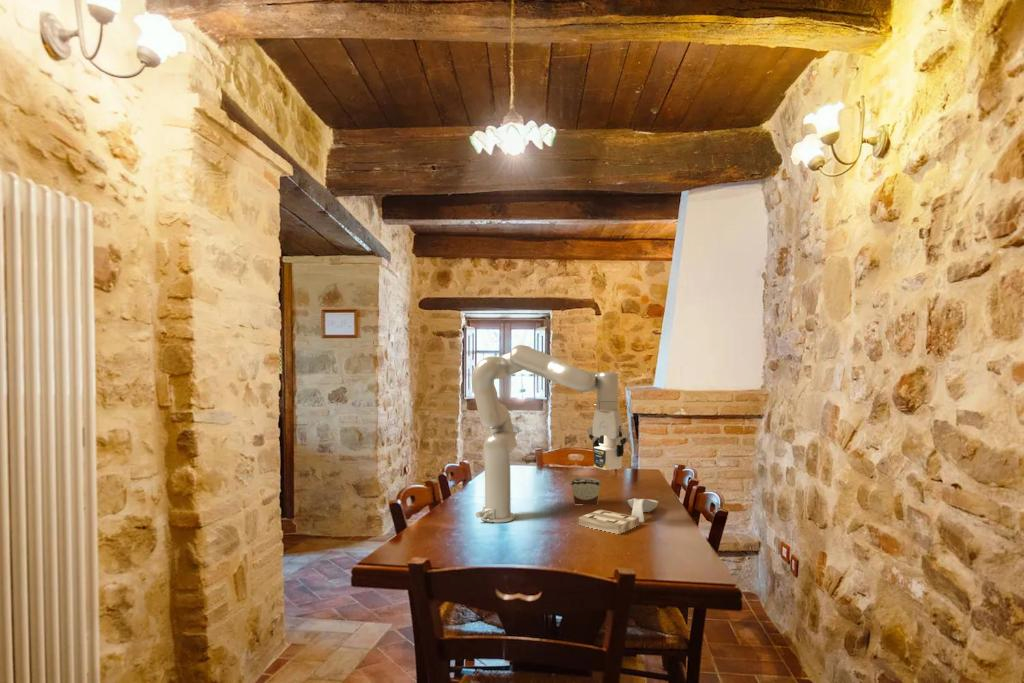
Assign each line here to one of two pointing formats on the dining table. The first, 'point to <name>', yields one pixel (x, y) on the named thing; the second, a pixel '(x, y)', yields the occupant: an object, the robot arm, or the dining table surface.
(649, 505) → the spoon rest
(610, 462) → the medicine bottle
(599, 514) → the birch plinth
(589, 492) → the food container
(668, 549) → the dining table surface
